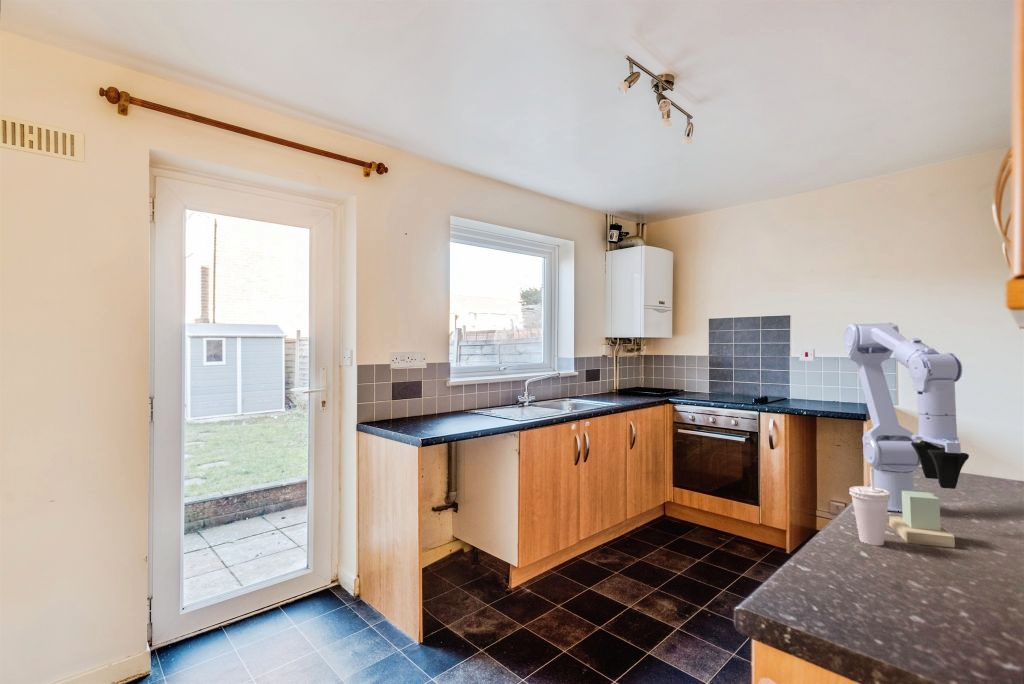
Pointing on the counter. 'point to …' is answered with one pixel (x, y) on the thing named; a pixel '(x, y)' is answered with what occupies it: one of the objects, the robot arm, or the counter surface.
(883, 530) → the smoothie
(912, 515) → the sage block
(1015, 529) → the counter surface
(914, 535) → the oak slab
